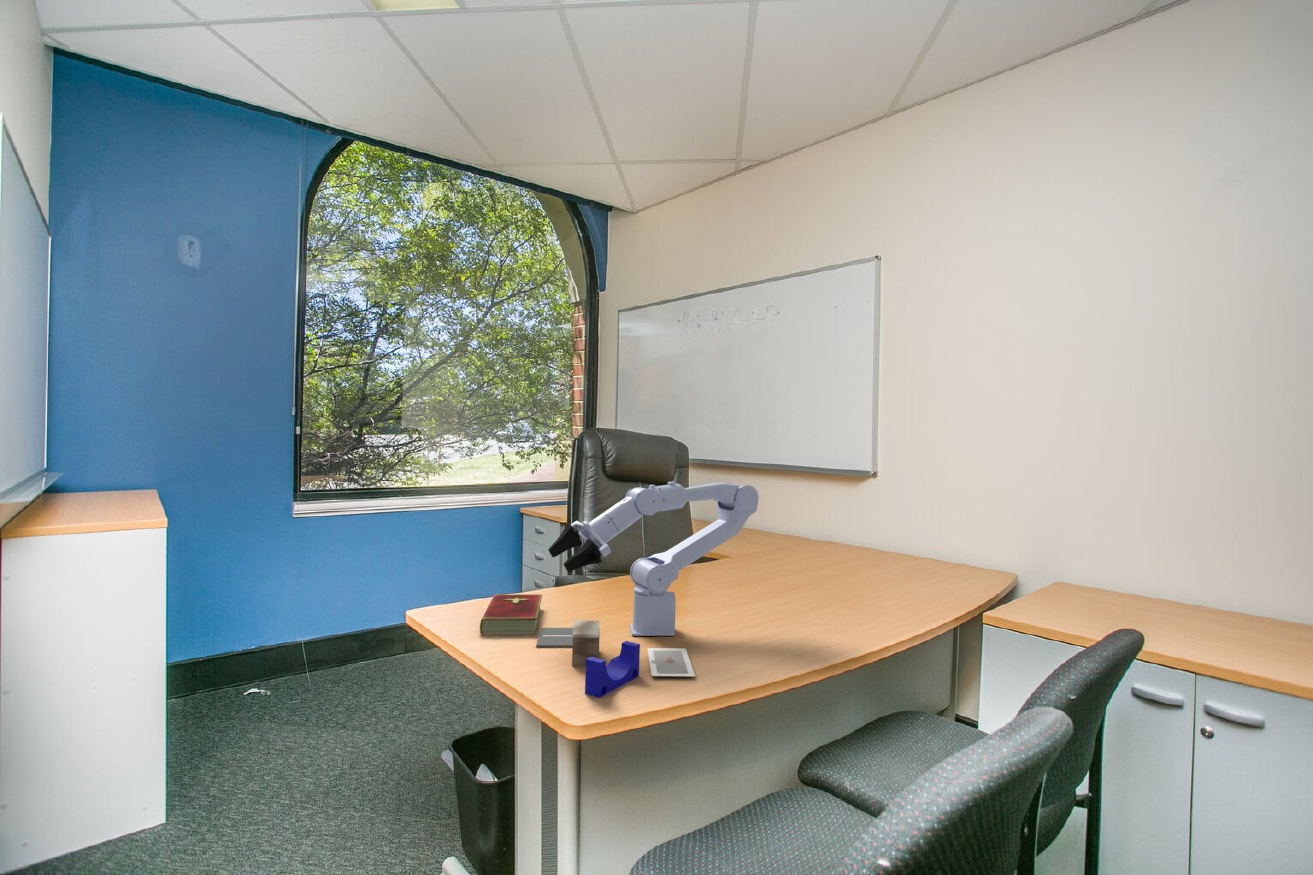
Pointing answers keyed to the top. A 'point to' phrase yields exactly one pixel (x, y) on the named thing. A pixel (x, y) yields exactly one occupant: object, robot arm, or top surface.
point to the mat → (555, 637)
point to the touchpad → (670, 662)
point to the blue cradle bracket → (612, 670)
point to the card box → (585, 641)
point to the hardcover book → (511, 614)
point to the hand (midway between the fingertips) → (557, 560)
